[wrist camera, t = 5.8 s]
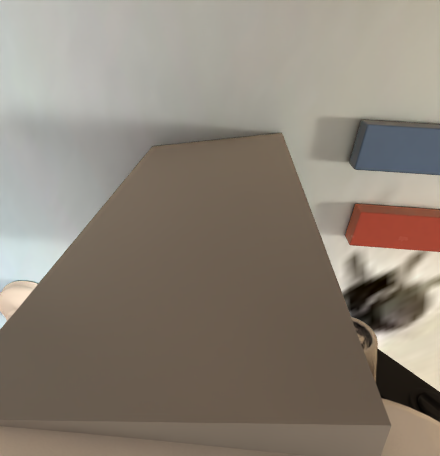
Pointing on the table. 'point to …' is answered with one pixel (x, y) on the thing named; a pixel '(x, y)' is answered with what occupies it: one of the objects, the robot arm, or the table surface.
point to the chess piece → (14, 296)
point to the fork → (394, 227)
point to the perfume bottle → (197, 316)
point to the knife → (397, 147)
